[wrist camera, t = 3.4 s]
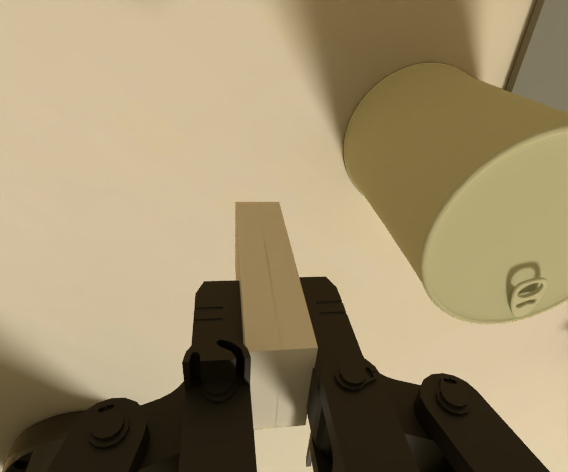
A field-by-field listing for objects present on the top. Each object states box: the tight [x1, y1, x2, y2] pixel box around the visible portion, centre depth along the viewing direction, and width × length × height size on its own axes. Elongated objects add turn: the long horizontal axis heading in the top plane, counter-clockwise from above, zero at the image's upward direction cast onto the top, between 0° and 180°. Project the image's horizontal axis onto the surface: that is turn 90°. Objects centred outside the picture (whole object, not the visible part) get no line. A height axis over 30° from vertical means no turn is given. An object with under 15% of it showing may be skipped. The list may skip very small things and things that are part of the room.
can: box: [344, 63, 568, 324], centre depth 20 cm, size 9×9×12 cm
